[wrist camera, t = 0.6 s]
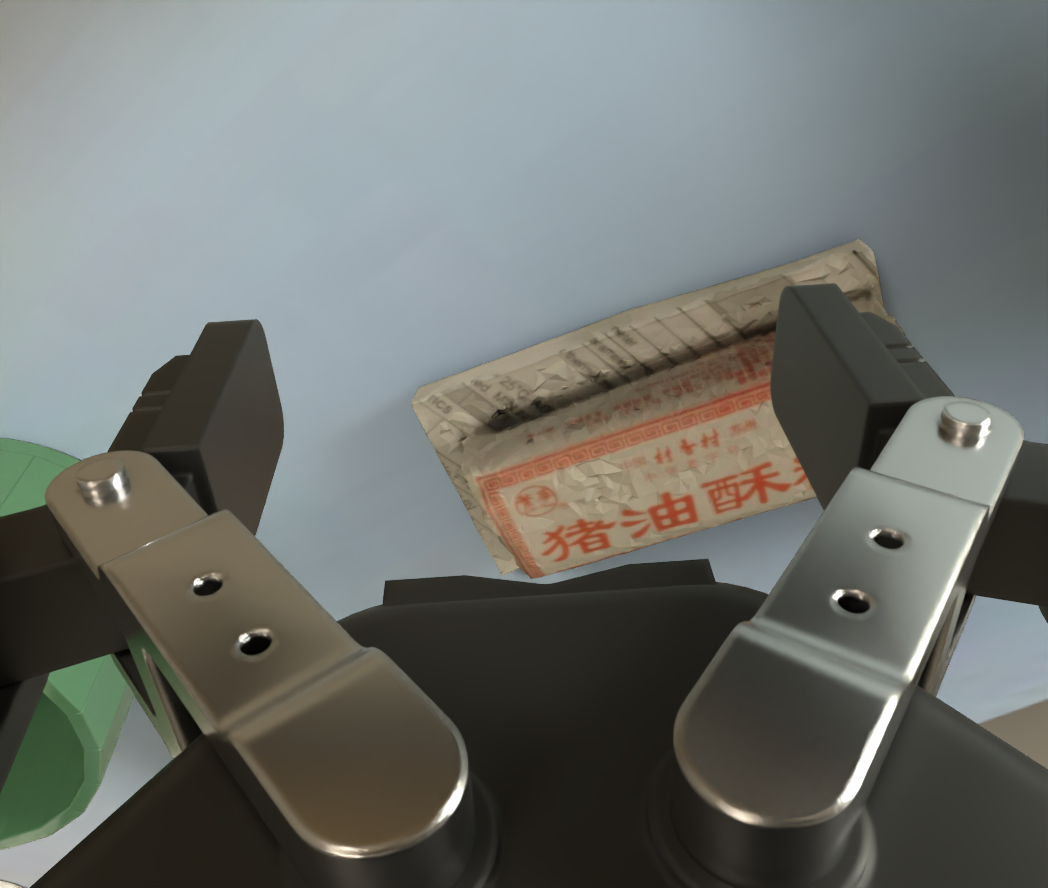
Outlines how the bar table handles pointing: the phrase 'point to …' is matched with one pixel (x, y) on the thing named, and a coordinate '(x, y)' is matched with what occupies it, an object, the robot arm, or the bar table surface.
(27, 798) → the cup
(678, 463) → the packaged product
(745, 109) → the bar table surface
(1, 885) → the bottle
